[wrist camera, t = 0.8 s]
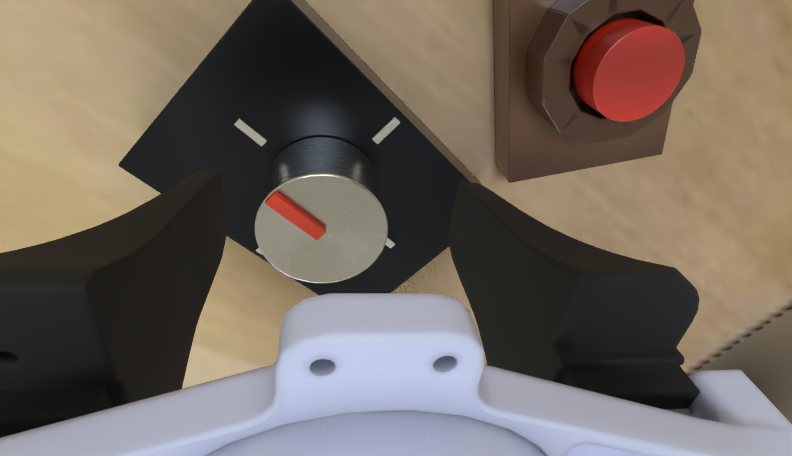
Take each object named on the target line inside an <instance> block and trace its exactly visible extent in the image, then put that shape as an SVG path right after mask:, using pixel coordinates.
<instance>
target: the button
mask: <svg viewBox="0 0 792 456" xmlns="http://www.w3.org/2000/svg"><path fill="white" fill-rule="evenodd" d="M684 63H685V53H684V48H683V45H682V42H681V40H680V39H679V37H678V36H677V35H676V34H675V33H674V32H673V31H671V30H670V29H668V28H665V27H662V26H659V25H656V24H652V23H649V22H645V21H642V20H638V19H634V18H624V19H618V20H615V21H612V22H610V23H608V24H606V25H604V26H603V27H601V28H600V29H598V30H597V31H596V32H595V33H593V34H592V35H591V36H590V37H589V39H588V40H587V41H586V42H585V44H584V45H583V47H582V48H581V50H580V52H579V54H578V56H577V58H576V61H575V65H574V70H573V84H574V88H575V91H576V93H577V95H578V96H579V98H580V99H581V100H582V101H583V102H584V103H586V104H587V105H589V106H590V107H592V108H593V109H595V110H596V111H598V112H599V113H601V114H602V115H603V116H605V117H607V118H609V119H611V120H614V121H619V122H627V121H633V120H637V119H640V118H643V117H645V116H647V115H649V114H650V113H652V112H654V111H655V110H656V109H658V108H659V107H660V106H661V105H662V104H663V103H664V102H665V101H666V100H667V99H668V98H669V97H670V96H671V94H672V93H673V91H674V90H675V88H676V87H677V85H678V83H679V81H680V78H681V76H682V73H683V69H684Z"/></svg>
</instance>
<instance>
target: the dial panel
mask: <svg viewBox="0 0 792 456" xmlns="http://www.w3.org/2000/svg"><path fill="white" fill-rule="evenodd" d="M314 137H329V138H335V139H339V140H342V141H345V142H347V143H349V144H351V145H353V146H355V147H356V148H358V149H359V150H361V151H362V152H363V153H364V154H365V155H366V156H367V157H368V158H369V159H370V161H371V162H372V164H373V165H374V167H375V169H376V171H377V174H378V177H379V182H380V187H381V192H382V197H383V202H384V206H385V211H386V216H387V221H388V235H387V240H386V243H385V246H384V248H383V250H382V252H381V253H380V255H379V257H378V258H377V259H376V260H375V262H374V263H373V264H372V265H370V266H369V267H368V268H367V269H366V270H364V271H363V272H361V273H359V274H358V275H356V276H354V277H351V278H349V279H346V280H343V281H338V282H333V283H310V282H305V281H301V280H297V279H294V278H293V279H294V280H296V281H297V282H299V283H300V284H302V285H304V286H305V287H307V288H308V289H310V290H311V291H313V292H314V293H316V294H317V295H324V294H329V293H391V292H392V291H394V290H395V289H396V288H397V287H399V286H400V285H401V284H402V283H404V282H405V281H406V280H407V279H409V278H410V277H411V276H412V275H414V274H415V273H416V272H417V271H419V270H420V269H421V268H422V267H424V266H425V265H426V264H427V263H429V262H430V261H431V260H432V259H434V258H435V257H436V256H437V255H439V254H440V253H441V252H442V251H444V250H445V249H446V248H447V247H449V241H448V236H447V235H448V231H449V226H450V221H451V216H452V211H453V206H454V201H455V196H456V191H457V186H458V182H470V183H478V184H480V185H481V183H480V182H479V180H478V179H477V178H476V177H475V176H474V175H473V174H472V173H471V172H470V171H469V170H468V169H467V168H466V167H465V166H464V165H463V164H462V163H461V162H460V161H459V160H458V159H457V158H456V157H455V156H454V154H453V153H452V152H451V151H450V150H449V149H448V148H447V147H446V146H445V145H444V144H443V143H442V142H441V141H440V140H439V139H438V138H437V137H436V136H435V135H434V134H433V133H432V132H431V131H430V130H429V129H428V128H427V127H426V125H425V124H424V123H423V122H422V121H421V120H420V119H419V118H418V117H417V116H416V115H415V114H414V113H413V112H412V111H411V110H410V109H409V108H408V107H407V106H406V105H405V104H404V103H403V102H402V101H401V100H400V99H399V97H398V96H397V95H396V94H395V93H394V92H393V91H392V90H391V89H390V88H389V87H388V86H387V85H386V84H385V83H384V82H383V81H382V80H381V79H380V78H379V77H378V76H377V75H376V74H375V73H374V72H373V71H372V70H371V68H370V67H369V66H368V65H367V64H366V63H365V62H364V61H363V60H362V59H361V58H360V57H359V56H358V55H357V54H356V53H355V52H354V51H353V50H352V49H351V48H350V47H349V46H348V45H347V44H346V43H345V42H344V40H343V39H342V38H341V37H340V36H339V35H338V34H337V33H336V32H335V31H334V30H333V29H332V28H331V27H330V26H329V25H328V24H327V23H326V22H325V21H324V20H323V19H322V18H321V17H320V16H319V15H318V14H317V13H316V11H315V10H314V9H313V8H312V7H311V6H310V5H309V4H308V3H307V2H306V1H305V0H252V1H251V2H250V4H249V5H248V6H247V7H246V9H245V10H244V11H243V12H242V13H241V15H240V16H239V17H238V18H237V20H236V21H235V22H234V23H233V24H232V26H231V27H230V28H229V29H228V31H227V32H226V33H225V34H224V35H223V37H222V38H221V39H220V40H219V42H218V43H217V44H216V45H215V47H214V48H213V49H212V50H211V51H210V53H209V54H208V55H207V56H206V58H205V59H204V60H203V61H202V62H201V64H200V65H199V66H198V67H197V69H196V70H195V71H194V72H193V73H192V75H191V76H190V77H189V78H188V80H187V81H186V82H185V83H184V85H183V86H182V87H181V88H180V89H179V91H178V92H177V93H176V94H175V96H174V97H173V98H172V99H171V100H170V102H169V103H168V104H167V105H166V107H165V108H164V109H163V110H162V111H161V113H160V114H159V115H158V116H157V118H156V119H155V120H154V121H153V123H152V124H151V125H150V126H149V127H148V129H147V130H146V131H145V132H144V134H143V135H142V136H141V137H140V138H139V140H138V141H137V142H136V143H135V145H134V146H133V147H132V148H131V149H130V151H129V152H128V153H127V154H126V156H125V157H124V158H123V159H122V161H121V162H120V163H119V166H120V167H121V168H123V169H124V170H126V171H127V172H129V173H130V174H132V175H134V176H135V177H137V178H138V179H140V180H141V181H143V182H144V183H146V184H147V185H149V186H151V187H152V188H154V189H155V190H157V191H158V192H160V193H161V194H162V193H163V192H165V191H167V190H168V189H170V188H172V187H173V186H175V185H176V184H178V183H180V182H181V181H183V180H184V179H186V178H188V177H189V176H191V175H193V174H194V173H196V172H221V181H222V190H223V198H224V207H225V216H226V225H227V234H226V236H228V237H229V238H231V239H232V240H234V241H236V242H237V243H239V244H240V245H242V246H243V247H245V248H246V249H248V250H249V251H251V252H253V253H254V254H256V255H257V256H259V257H260V258H262V259H263V260H265V261H266V262H268V260H267V259H266V258H265V257H264V255H263V254H262V252H261V250H260V249H259V246H258V244H257V241H256V237H255V229H254V226H255V218H256V214H257V210H258V206H259V202H260V198H261V194H262V190H263V186H264V182H265V178H266V174H267V171H268V168H269V166H270V164H271V163H272V161H273V160H274V158H275V157H276V156H277V155H278V154H279V153H280V152H281V151H282V150H283V149H285V148H286V147H288V146H289V145H291V144H293V143H295V142H298V141H301V140H304V139H308V138H314ZM268 263H269V262H268ZM291 278H292V277H291Z"/></svg>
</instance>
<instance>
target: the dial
mask: <svg viewBox="0 0 792 456" xmlns="http://www.w3.org/2000/svg"><path fill="white" fill-rule="evenodd" d="M254 229H255V237H256V241H257V244H258V246H259V249H260V250H261V252H262V254H263V255H264V257H265V258H266V259H267V260H268V262H269V263H270V264H271V265H273V266H274V267H275V268H276V269H278V270H279V271H280V272H282V273H284V274H285V275H287V276H290V277H292V278H294V279H297V280H301V281H305V282H310V283H333V282H338V281H343V280H346V279H349V278H351V277H354V276H356V275H358V274H359V273H361V272H363V271H364V270H366V269H367V268H368V267H369V266H370V265H372V264H373V263H374V262H375V260H376V259H377V258H378V257H379V255H380V253H381V252H382V250H383V248H384V246H385V243H386V240H387V235H388V221H387V216H386V211H385V206H384V202H383V197H382V192H381V187H380V182H379V177H378V174H377V171H376V169H375V167H374V165H373V164H372V162H371V161H370V159H369V158H368V157H367V156H366V155H365V154H364V153H363V152H362V151H361V150H359V149H358V148H356V147H355V146H353V145H351V144H349V143H347V142H345V141H342V140H339V139H335V138H329V137H314V138H308V139H304V140H301V141H298V142H295V143H293V144H291V145H289V146H288V147H286V148H285V149H283V150H282V151H281V152H280V153H279V154H278V155H277V156H276V157H275V158H274V160H273V161H272V163H271V164H270V166H269V168H268V171H267V174H266V178H265V182H264V186H263V190H262V194H261V198H260V202H259V206H258V210H257V214H256V218H255V226H254Z"/></svg>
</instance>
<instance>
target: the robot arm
mask: <svg viewBox="0 0 792 456" xmlns="http://www.w3.org/2000/svg"><path fill="white" fill-rule="evenodd" d="M226 234H227V225H226V216H225V207H224V198H223V190H222V181H221V172H196V173H194V174H193V175H191V176H189V177H188V178H186V179H184V180H183V181H181V182H180V183H178V184H176V185H175V186H173V187H172V188H170V189H168V190H167V191H165V192H163V193H162V194H160V195H159V196H157V197H155V198H153V199H152V200H150V201H148V202H146V203H144V204H142V205H141V206H139V207H137V208H135V209H133V210H132V211H130V212H128V213H126V214H124V215H121V216H119V217H117V218H115V219H112V220H110V221H108V222H105V223H103V224H101V225H98V226H96V227H93V228H90V229H87V230H84V231H81V232H78V233H75V234H72V235H69V236H66V237H64V238H60V239H57V240H54V241H50V242H46V243H43V244H39V245H35V246H31V247H27V248H22V249H18V250H14V251H9V252H4V253H0V456H792V424H791V423H790V422H789V421H788V420H787V419H786V418H785V417H784V416H783V415H782V414H781V413H780V411H778V409H777V408H776V407H775V406H774V405H773V404H772V403H771V402H770V401H769V400H768V399H767V398H766V397H765V395H764V394H763V393H762V392H761V391H760V390H759V389H758V388H757V387H756V386H755V385H754V384H753V383H752V382H751V381H750V379H749V378H748V377H747V376H746V375H745V374H744V373H743V372H742V371H741V370H712V371H700V372H696V373H694V374H692V375H690V376H689V377H688V376H687V374H686V373H685V372H684V371H683V370H682V368H681V367H680V366H679V365H682V364H683V363H684V357H683V356H682V354H681V353H680V352H679V351H678V350H677V348H676V347H677V345H678V343H679V342H680V340H681V339H682V337H683V335H684V334H685V332H686V331H687V329H688V328H689V326H690V324H691V323H692V321H693V319H694V317H695V315H696V313H697V310H698V305H699V296H698V292H697V290H696V289H695V287H694V286H693V285H692V284H691V283H690V282H689V281H688V280H687V279H686V278H685V277H684V276H683V275H682V274H681V273H680V272H679V271H678V270H677V269H676V268H673V267H668V266H664V265H659V264H655V263H650V262H645V261H641V260H636V259H633V258H629V257H626V256H622V255H618V254H615V253H612V252H609V251H606V250H602V249H599V248H597V247H594V246H591V245H589V244H586V243H583V242H581V241H578V240H576V239H574V238H571V237H569V236H567V235H565V234H563V233H560V232H558V231H556V230H554V229H552V228H550V227H548V226H546V225H544V224H543V223H541V222H539V221H537V220H536V219H534V218H532V217H531V216H529V215H527V214H526V213H524V212H522V211H521V210H519V209H518V208H516V207H515V206H513V205H512V204H510V203H509V202H507V201H506V200H504V199H503V198H501V197H500V196H498V195H497V194H495V193H494V192H492V191H491V190H489V189H487V188H486V187H484V186H482V185H480V184H478V183H470V182H458V186H457V191H456V196H455V201H454V206H453V211H452V216H451V221H450V226H449V231H448V235H447V236H448V241H449V246H450V250H451V254H452V259H453V262H454V265H455V267H456V270H457V272H458V275H459V278H460V280H461V283H462V285H463V288H464V290H465V293H466V295H467V298H468V300H469V303H470V305H471V308H472V310H473V313H474V315H475V318H476V321H477V324H478V328H479V332H480V336H481V339H482V343H483V347H484V350H483V347H482V344H481V341H480V338H479V336H478V333H477V330H476V328H475V325H474V322H473V320H472V317H471V314H470V311H469V310H468V309H467V308H466V307H465V306H464V305H463V304H462V303H461V302H460V301H459V300H458V299H457V298H453V297H449V296H444V295H440V294H435V293H329V294H324V295H319V296H314V297H309V298H304V299H303V300H302V301H300V302H299V303H298V304H296V305H295V306H293V307H292V308H291V309H289V310H288V311H287V312H286V314H285V317H284V320H283V322H282V325H281V328H280V334H279V343H278V351H277V359H276V363H274V364H273V365H269V366H265V367H262V368H258V369H254V370H251V371H247V372H243V373H239V374H236V375H232V376H228V377H224V378H221V379H217V380H213V381H210V382H206V383H202V384H198V385H195V386H191V387H187V388H184V389H182V385H183V381H184V376H185V372H186V367H187V363H188V358H189V354H190V350H191V346H192V342H193V337H194V333H195V329H196V326H197V323H198V320H199V317H200V314H201V311H202V308H203V306H204V303H205V301H206V298H207V295H208V293H209V290H210V288H211V285H212V282H213V280H214V277H215V274H216V272H217V269H218V266H219V264H220V261H221V258H222V254H223V249H224V245H225V240H226ZM484 351H485V355H486V360H487V364H488V365H484Z"/></svg>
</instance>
